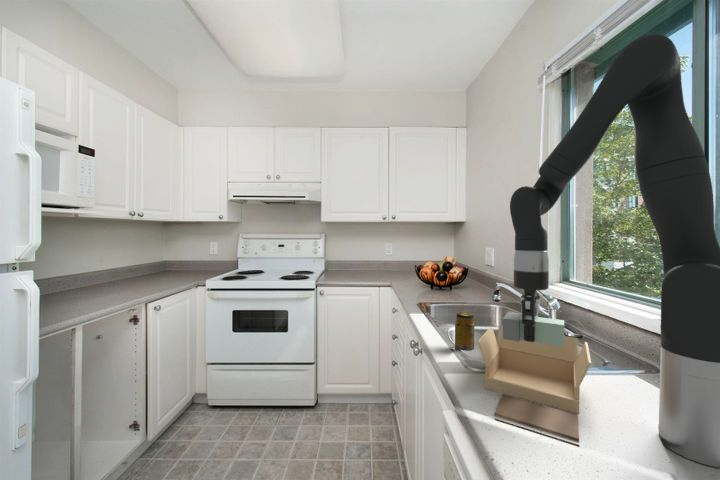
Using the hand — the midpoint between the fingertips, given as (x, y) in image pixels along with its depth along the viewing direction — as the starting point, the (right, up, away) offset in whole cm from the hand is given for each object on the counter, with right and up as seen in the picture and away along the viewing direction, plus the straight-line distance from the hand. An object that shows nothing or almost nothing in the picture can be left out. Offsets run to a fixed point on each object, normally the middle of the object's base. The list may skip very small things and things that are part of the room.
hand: (530, 337), depth 76 cm
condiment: (-7, -12, +24) cm, 28 cm away
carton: (0, -13, 0) cm, 13 cm away
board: (-6, -13, -13) cm, 19 cm away
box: (0, 0, 0) cm, 0 cm away
